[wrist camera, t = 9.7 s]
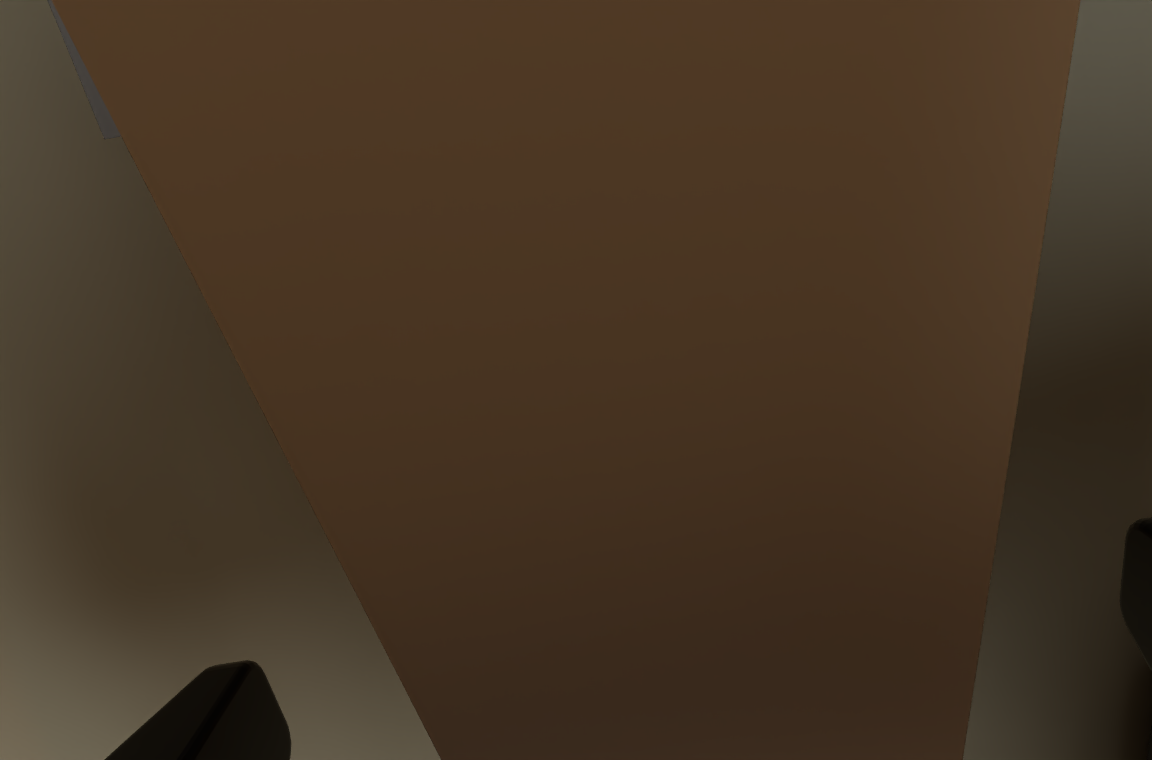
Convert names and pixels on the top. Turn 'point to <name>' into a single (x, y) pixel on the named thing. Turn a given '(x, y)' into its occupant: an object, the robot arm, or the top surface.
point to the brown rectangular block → (626, 338)
